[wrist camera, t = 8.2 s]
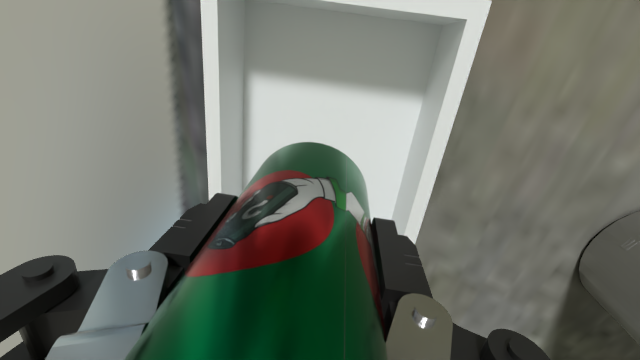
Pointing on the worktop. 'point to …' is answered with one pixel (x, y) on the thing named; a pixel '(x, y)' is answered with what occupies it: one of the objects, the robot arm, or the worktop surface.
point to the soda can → (280, 272)
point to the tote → (338, 89)
